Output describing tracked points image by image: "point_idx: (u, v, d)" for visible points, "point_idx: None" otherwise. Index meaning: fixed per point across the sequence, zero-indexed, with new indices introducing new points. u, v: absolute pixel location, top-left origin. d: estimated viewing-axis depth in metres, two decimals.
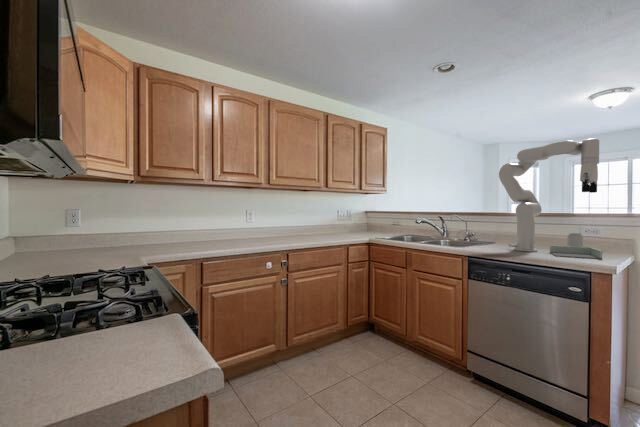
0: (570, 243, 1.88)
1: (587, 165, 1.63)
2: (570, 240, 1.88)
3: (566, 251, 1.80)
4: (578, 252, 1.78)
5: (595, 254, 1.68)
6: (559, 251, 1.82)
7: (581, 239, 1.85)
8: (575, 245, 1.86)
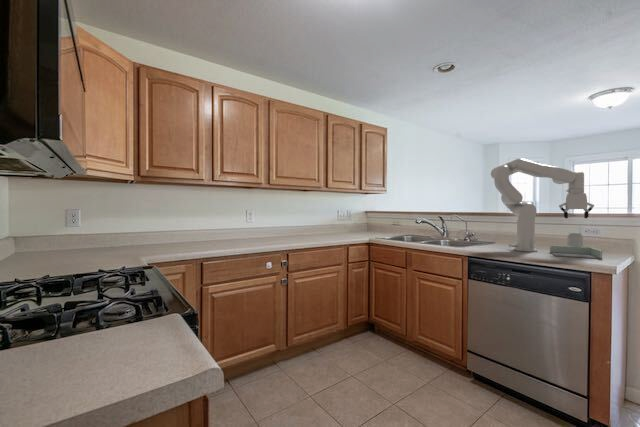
0: (570, 243, 1.88)
1: None
2: (570, 240, 1.88)
3: (566, 251, 1.80)
4: (578, 252, 1.78)
5: (595, 254, 1.68)
6: (559, 251, 1.82)
7: (581, 239, 1.85)
8: (575, 245, 1.86)
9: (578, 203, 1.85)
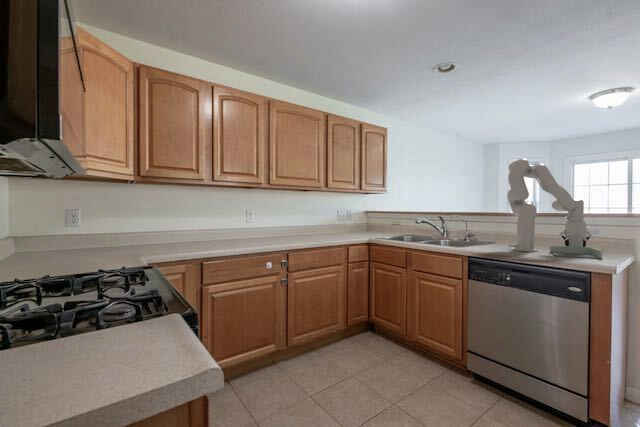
0: (570, 243, 1.88)
1: None
2: (570, 240, 1.88)
3: (566, 251, 1.80)
4: (578, 252, 1.78)
5: (595, 254, 1.68)
6: (559, 251, 1.82)
7: (581, 239, 1.85)
8: (575, 245, 1.86)
9: (578, 231, 1.86)
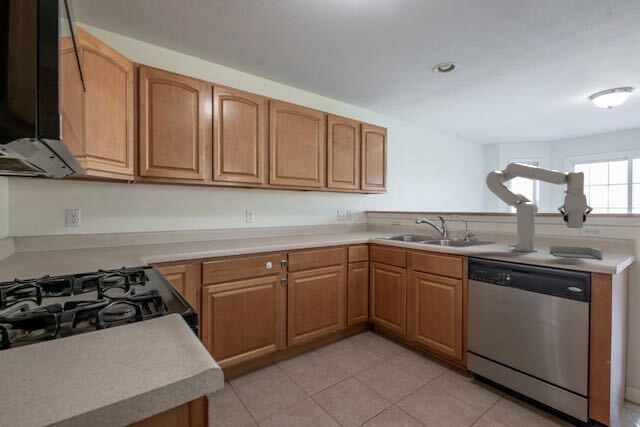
0: (569, 218, 1.76)
1: None
2: (570, 215, 1.75)
3: (566, 251, 1.80)
4: (578, 252, 1.78)
5: (595, 254, 1.68)
6: (559, 251, 1.82)
7: (581, 213, 1.73)
8: (575, 220, 1.73)
9: (578, 205, 1.74)
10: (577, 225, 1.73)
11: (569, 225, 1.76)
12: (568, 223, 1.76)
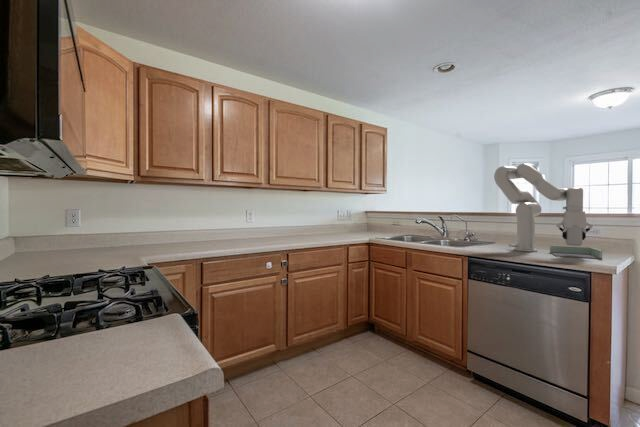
0: (568, 235, 1.72)
1: None
2: (568, 232, 1.72)
3: (566, 251, 1.80)
4: (578, 252, 1.78)
5: (595, 254, 1.68)
6: (559, 251, 1.82)
7: (580, 231, 1.69)
8: (574, 237, 1.69)
9: (577, 223, 1.70)
10: (576, 243, 1.69)
11: (568, 242, 1.72)
12: (567, 240, 1.73)
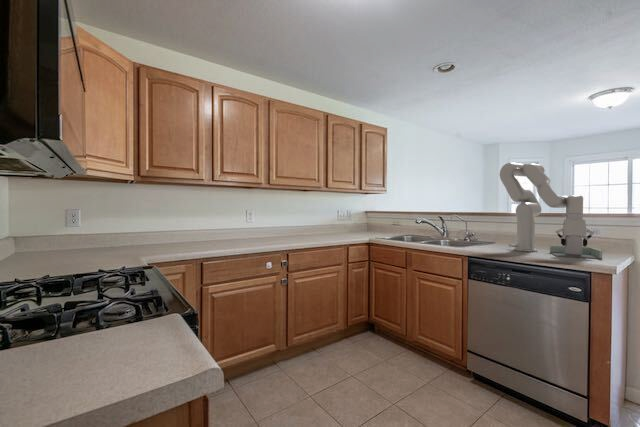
0: (568, 245, 1.72)
1: None
2: (568, 242, 1.72)
3: None
4: None
5: (595, 254, 1.68)
6: (559, 251, 1.82)
7: (580, 241, 1.69)
8: (573, 247, 1.70)
9: (577, 230, 1.70)
10: (575, 253, 1.69)
11: (567, 252, 1.72)
12: (566, 250, 1.73)
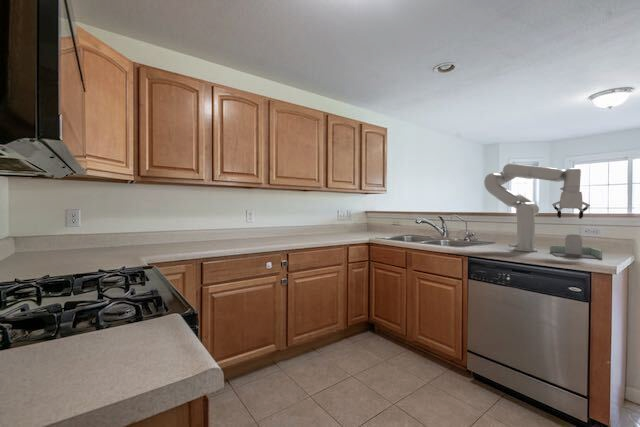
0: (568, 245, 1.72)
1: None
2: (568, 242, 1.72)
3: None
4: None
5: (595, 254, 1.68)
6: (559, 251, 1.82)
7: (580, 241, 1.69)
8: (573, 247, 1.70)
9: (573, 203, 1.74)
10: (576, 253, 1.69)
11: (568, 252, 1.72)
12: (567, 250, 1.73)
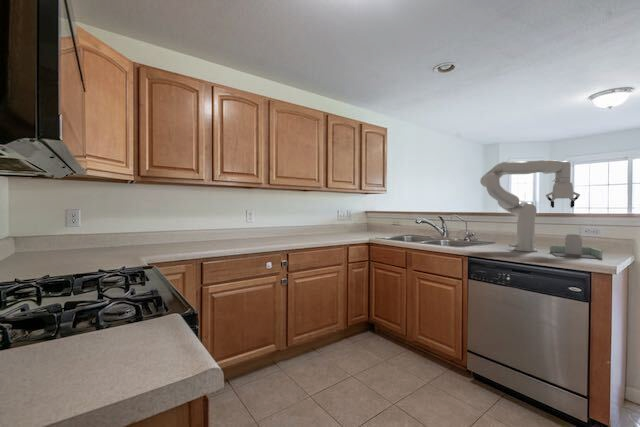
0: (568, 245, 1.72)
1: None
2: (568, 242, 1.72)
3: None
4: None
5: (595, 254, 1.68)
6: (559, 251, 1.82)
7: (580, 241, 1.69)
8: (573, 247, 1.70)
9: (564, 193, 1.88)
10: (576, 253, 1.69)
11: (568, 252, 1.72)
12: (567, 250, 1.73)
